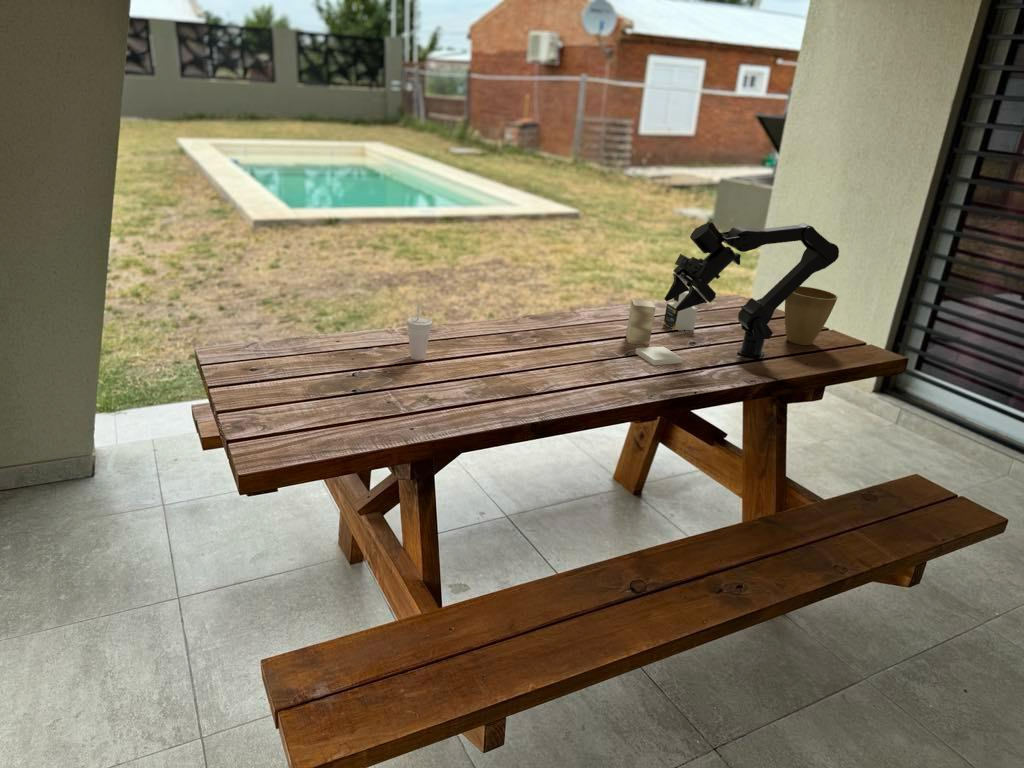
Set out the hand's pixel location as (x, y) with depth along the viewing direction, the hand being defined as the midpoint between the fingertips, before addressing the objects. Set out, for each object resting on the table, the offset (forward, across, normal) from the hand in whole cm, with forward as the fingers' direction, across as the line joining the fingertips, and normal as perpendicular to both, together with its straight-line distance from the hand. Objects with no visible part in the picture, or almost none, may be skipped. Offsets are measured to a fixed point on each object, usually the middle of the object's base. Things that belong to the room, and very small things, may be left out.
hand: (671, 305), depth 205 cm
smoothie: (+55, +11, -44) cm, 72 cm away
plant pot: (-21, -14, +47) cm, 53 cm away
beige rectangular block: (+14, -6, +4) cm, 16 cm away
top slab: (+13, +8, +5) cm, 16 cm away
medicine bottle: (+2, -23, +19) cm, 30 cm away
